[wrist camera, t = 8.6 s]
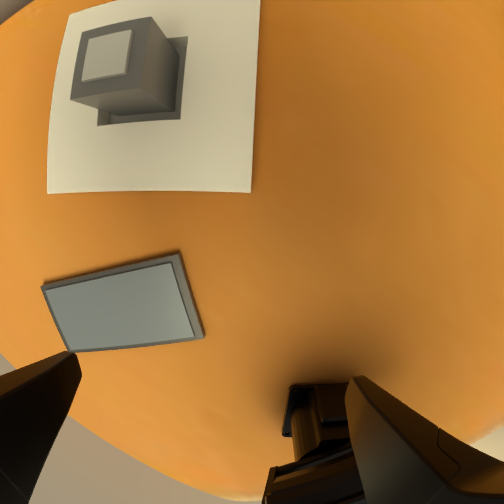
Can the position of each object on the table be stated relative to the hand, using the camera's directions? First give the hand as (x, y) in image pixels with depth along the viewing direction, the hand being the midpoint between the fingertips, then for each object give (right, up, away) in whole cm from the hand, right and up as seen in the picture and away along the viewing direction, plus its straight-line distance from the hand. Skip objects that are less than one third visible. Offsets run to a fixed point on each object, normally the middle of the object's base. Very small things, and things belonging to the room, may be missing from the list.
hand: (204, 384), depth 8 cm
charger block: (-5, +15, +8) cm, 18 cm away
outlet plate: (-5, +15, +8) cm, 18 cm away
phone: (-9, 0, +13) cm, 16 cm away
